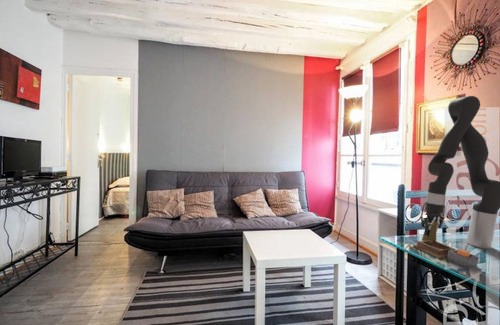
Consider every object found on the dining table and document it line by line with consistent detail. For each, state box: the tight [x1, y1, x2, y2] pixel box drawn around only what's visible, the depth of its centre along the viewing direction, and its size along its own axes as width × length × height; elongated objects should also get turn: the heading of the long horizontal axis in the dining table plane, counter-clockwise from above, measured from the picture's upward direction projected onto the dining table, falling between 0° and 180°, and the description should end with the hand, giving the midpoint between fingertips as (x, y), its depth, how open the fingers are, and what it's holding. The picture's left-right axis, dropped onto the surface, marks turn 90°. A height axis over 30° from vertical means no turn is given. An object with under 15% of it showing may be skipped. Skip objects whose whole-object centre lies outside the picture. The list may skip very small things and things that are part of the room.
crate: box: [412, 240, 456, 259], centre depth 117 cm, size 12×12×3 cm
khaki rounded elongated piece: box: [421, 221, 438, 242], centre depth 130 cm, size 6×6×11 cm
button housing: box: [446, 249, 479, 269], centre depth 107 cm, size 7×7×4 cm
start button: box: [456, 248, 471, 257], centre depth 107 cm, size 4×4×3 cm
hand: (429, 235), depth 130 cm, fingers closed on khaki rounded elongated piece, 4 cm apart
